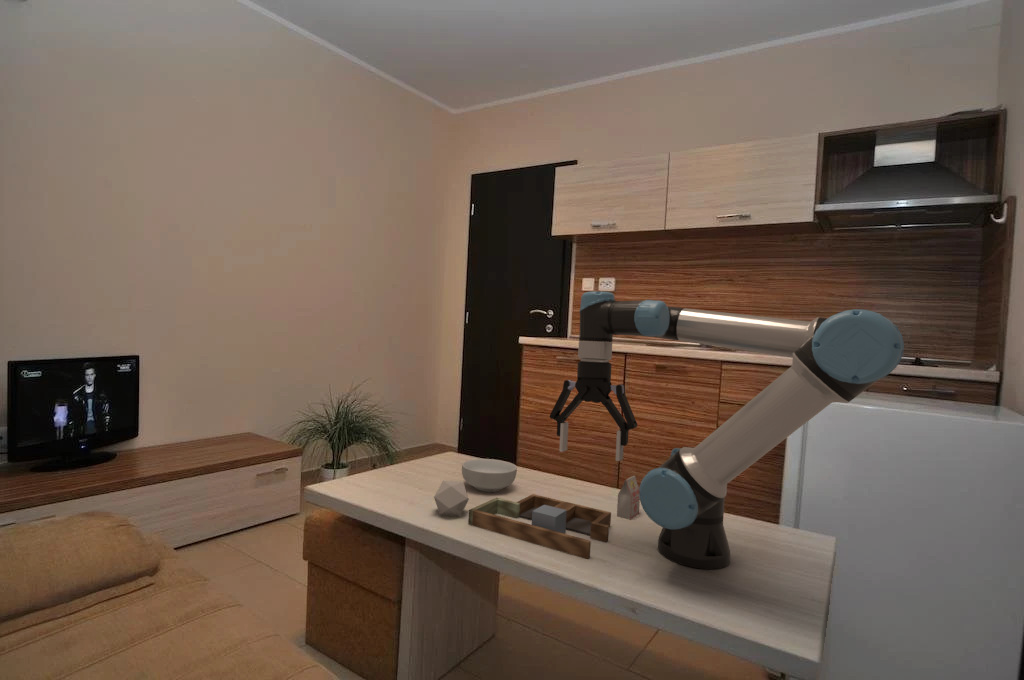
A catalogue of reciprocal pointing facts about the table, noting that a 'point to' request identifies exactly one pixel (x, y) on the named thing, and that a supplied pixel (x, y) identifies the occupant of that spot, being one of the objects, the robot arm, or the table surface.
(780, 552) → the table surface
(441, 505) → the die
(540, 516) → the slate block
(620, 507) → the gable top carton
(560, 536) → the wooden compartment tray
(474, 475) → the cereal bowl
